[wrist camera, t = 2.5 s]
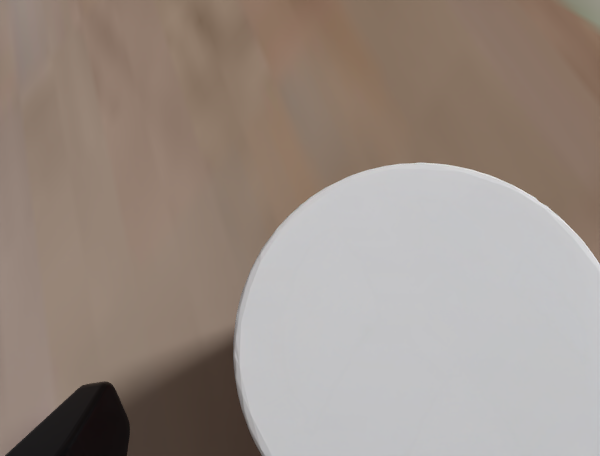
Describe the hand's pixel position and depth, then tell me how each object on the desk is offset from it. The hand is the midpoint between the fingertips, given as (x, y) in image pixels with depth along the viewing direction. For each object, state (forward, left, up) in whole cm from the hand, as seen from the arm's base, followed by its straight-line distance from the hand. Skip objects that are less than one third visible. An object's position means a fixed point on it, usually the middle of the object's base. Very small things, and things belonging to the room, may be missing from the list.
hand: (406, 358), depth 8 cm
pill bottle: (0, 0, -8) cm, 8 cm away
